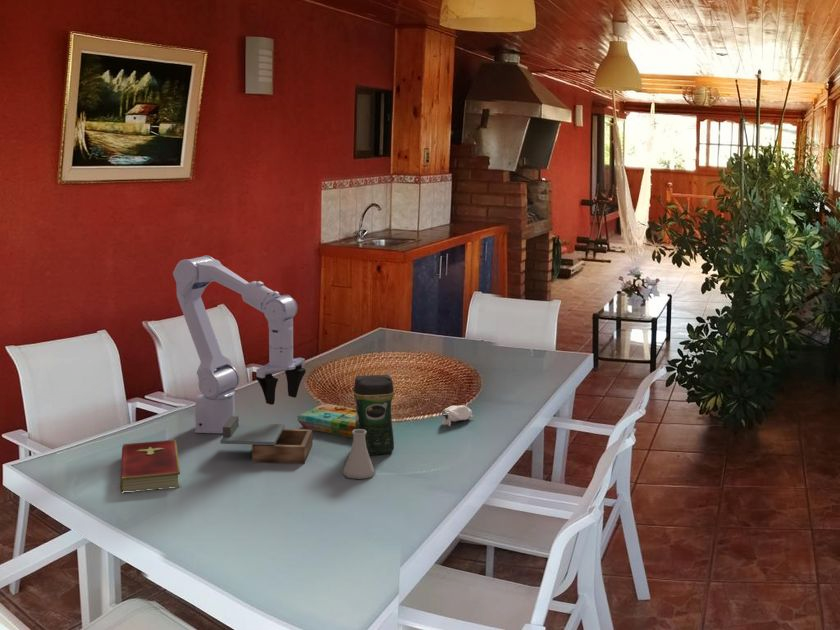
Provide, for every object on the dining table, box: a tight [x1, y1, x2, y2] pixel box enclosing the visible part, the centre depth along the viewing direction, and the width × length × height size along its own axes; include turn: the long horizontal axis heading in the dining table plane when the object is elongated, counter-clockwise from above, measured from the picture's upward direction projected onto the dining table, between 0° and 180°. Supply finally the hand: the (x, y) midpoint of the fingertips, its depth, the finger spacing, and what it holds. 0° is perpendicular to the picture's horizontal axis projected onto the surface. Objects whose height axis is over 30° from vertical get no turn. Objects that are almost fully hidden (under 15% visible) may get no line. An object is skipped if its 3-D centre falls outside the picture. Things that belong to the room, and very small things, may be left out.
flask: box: [342, 429, 376, 480], centre depth 190 cm, size 7×7×10 cm
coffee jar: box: [353, 374, 395, 456], centre depth 204 cm, size 10×8×19 cm
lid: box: [220, 415, 285, 446], centre depth 201 cm, size 12×12×3 cm
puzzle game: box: [297, 402, 356, 438], centre depth 220 cm, size 12×5×20 cm
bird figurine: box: [440, 404, 475, 427], centre depth 227 cm, size 5×7×10 cm
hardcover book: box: [119, 439, 181, 493], centre depth 189 cm, size 12×21×4 cm, turn 18°
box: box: [251, 428, 313, 465], centre depth 202 cm, size 12×12×4 cm
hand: (281, 400), depth 210 cm, fingers open, 7 cm apart
